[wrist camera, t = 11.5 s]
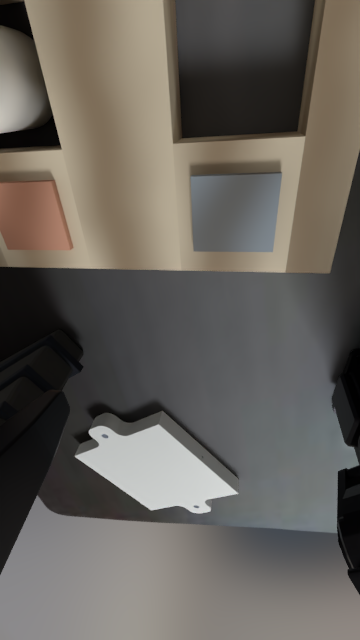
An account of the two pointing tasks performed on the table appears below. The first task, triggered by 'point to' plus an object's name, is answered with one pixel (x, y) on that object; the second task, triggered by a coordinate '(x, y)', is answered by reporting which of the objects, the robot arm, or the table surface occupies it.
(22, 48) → the plug
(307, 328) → the table surface
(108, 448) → the mounting plate
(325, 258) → the socket board
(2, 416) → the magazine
